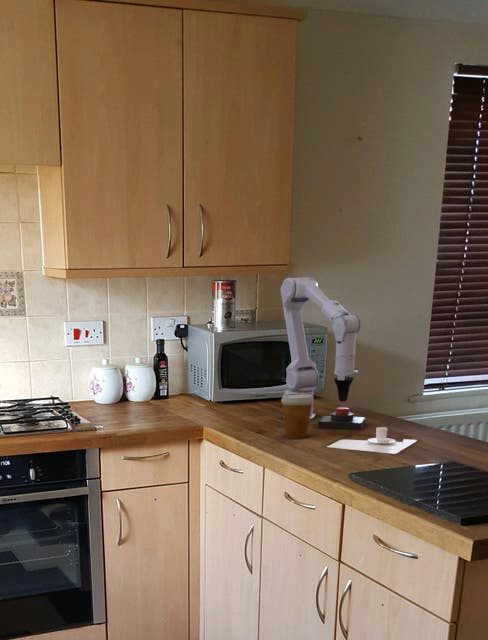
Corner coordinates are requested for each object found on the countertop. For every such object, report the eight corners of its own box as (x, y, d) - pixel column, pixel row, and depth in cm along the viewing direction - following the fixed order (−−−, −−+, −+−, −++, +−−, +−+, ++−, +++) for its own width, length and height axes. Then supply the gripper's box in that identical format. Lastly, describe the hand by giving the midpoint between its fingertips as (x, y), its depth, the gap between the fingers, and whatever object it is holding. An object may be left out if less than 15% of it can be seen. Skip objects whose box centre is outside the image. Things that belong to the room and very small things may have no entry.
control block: (318, 428, 271) (318, 415, 270) (323, 422, 280) (323, 410, 279) (360, 430, 267) (361, 417, 266) (364, 424, 276) (365, 411, 275)
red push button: (334, 415, 271) (335, 409, 271) (336, 413, 275) (337, 407, 274) (347, 416, 270) (348, 409, 269) (349, 414, 274) (349, 407, 273)
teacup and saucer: (389, 446, 244) (390, 432, 243) (362, 444, 248) (362, 429, 247) (399, 441, 251) (400, 426, 250) (372, 438, 255) (373, 424, 254)
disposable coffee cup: (314, 433, 264) (316, 393, 260) (309, 440, 255) (310, 398, 251) (283, 432, 267) (284, 392, 263) (277, 438, 258) (277, 397, 254)
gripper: (355, 359, 259) (353, 405, 264) (361, 353, 272) (359, 397, 276) (331, 358, 261) (329, 404, 266) (338, 353, 274) (336, 397, 279)
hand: (343, 400), depth 271 cm, fingers closed
